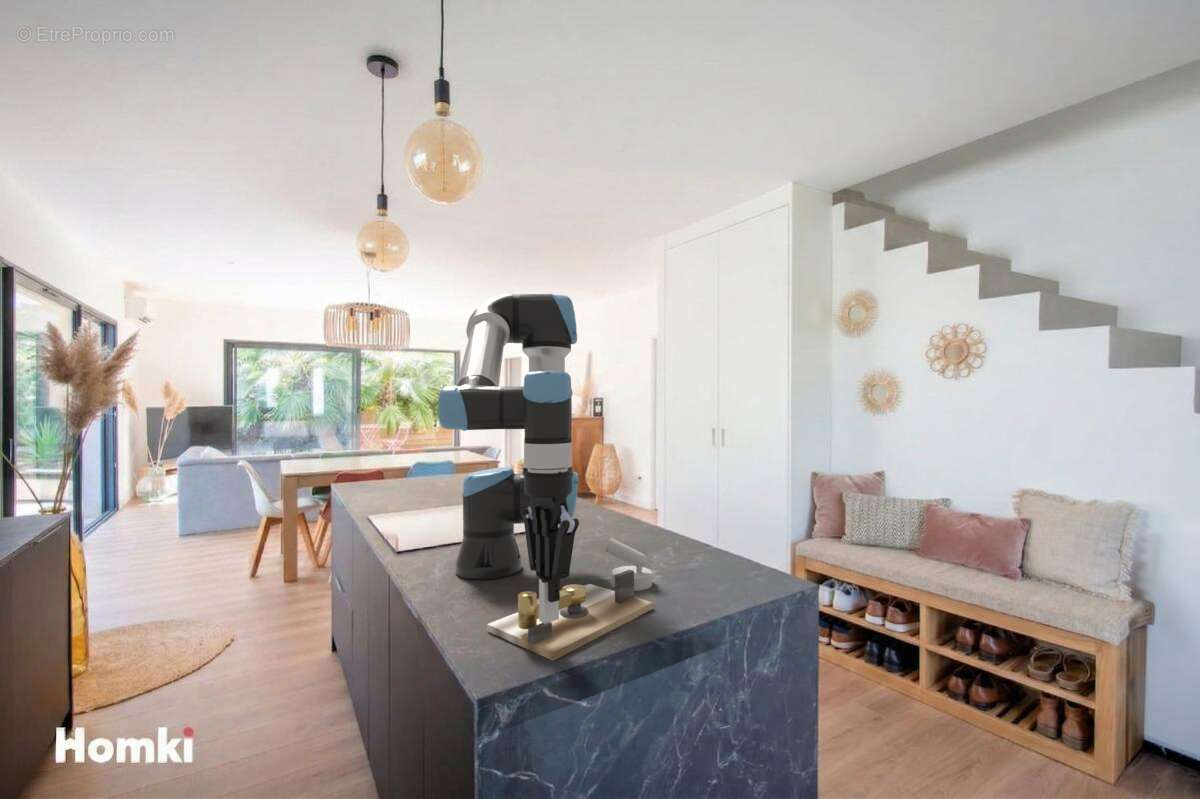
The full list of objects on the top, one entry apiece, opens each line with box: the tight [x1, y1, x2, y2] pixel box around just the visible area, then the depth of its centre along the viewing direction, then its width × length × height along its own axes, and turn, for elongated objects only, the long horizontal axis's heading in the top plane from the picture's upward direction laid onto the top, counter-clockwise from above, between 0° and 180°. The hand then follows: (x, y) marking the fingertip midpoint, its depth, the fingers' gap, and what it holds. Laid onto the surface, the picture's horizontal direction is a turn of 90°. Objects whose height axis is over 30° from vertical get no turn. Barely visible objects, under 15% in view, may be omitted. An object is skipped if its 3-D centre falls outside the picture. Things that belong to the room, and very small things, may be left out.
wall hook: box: [605, 537, 653, 592], centre depth 112 cm, size 9×10×10 cm
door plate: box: [486, 570, 654, 661], centre depth 94 cm, size 16×26×6 cm, turn 139°
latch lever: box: [517, 583, 586, 629], centre depth 90 cm, size 15×4×5 cm, turn 139°
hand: (549, 619), depth 82 cm, fingers closed
